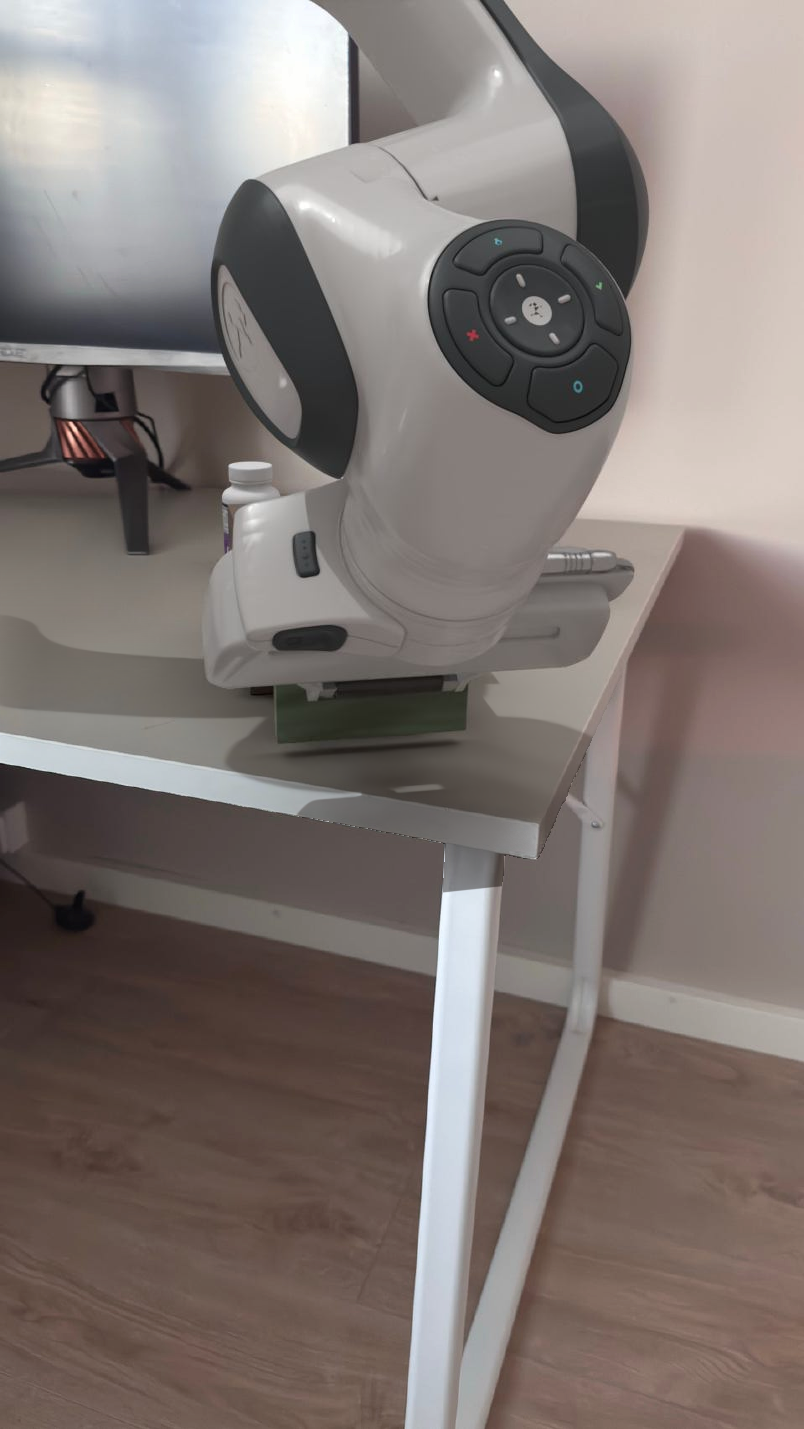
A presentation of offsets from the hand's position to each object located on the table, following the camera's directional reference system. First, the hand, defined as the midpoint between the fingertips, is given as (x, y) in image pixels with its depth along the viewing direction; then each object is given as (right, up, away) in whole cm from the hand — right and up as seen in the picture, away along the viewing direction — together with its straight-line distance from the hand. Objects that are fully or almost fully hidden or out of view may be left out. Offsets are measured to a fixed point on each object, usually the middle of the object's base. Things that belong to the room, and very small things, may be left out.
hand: (383, 684), depth 61 cm
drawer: (-2, -1, +8) cm, 8 cm away
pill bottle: (-13, +12, +41) cm, 45 cm away
